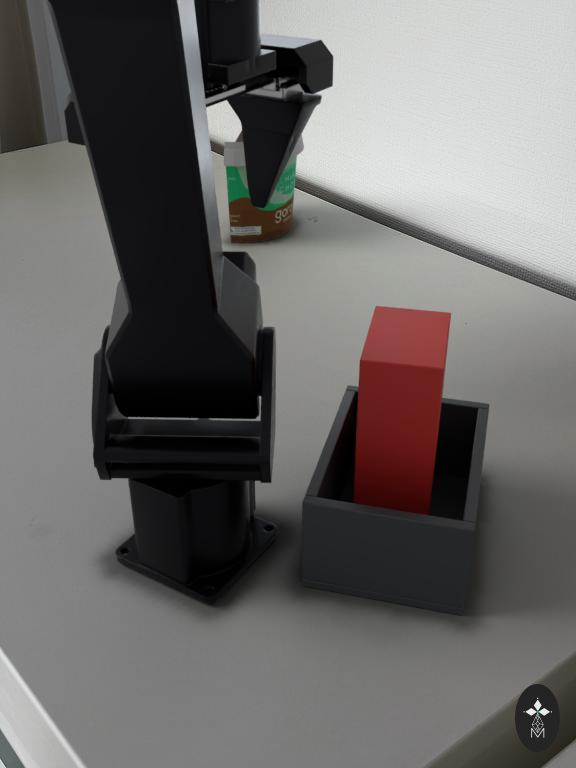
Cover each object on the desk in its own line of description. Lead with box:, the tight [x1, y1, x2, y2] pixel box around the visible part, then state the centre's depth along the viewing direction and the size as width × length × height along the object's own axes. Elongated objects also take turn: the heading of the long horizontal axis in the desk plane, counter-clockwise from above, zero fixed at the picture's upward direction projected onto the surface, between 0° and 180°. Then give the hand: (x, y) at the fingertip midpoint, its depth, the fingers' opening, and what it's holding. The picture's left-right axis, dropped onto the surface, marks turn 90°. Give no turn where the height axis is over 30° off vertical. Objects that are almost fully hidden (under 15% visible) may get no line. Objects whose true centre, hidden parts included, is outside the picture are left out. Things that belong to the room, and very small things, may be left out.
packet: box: [353, 305, 452, 515], centre depth 46 cm, size 4×6×11 cm, turn 168°
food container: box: [223, 130, 305, 244], centre depth 85 cm, size 12×6×10 cm, turn 168°
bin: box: [301, 384, 490, 616], centre depth 47 cm, size 11×8×6 cm
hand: (219, 228), depth 55 cm, fingers open, 9 cm apart
